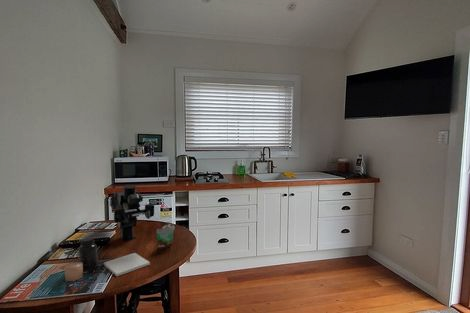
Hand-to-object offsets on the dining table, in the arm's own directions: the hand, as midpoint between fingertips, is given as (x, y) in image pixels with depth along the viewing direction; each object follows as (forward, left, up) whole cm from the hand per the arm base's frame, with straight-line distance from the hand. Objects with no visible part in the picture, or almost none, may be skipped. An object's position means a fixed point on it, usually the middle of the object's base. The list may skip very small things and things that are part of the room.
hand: (139, 219), depth 125 cm
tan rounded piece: (+2, -28, -17) cm, 33 cm away
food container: (0, +15, -17) cm, 22 cm away
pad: (+6, -9, -16) cm, 20 cm away
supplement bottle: (-4, -21, -17) cm, 27 cm away
